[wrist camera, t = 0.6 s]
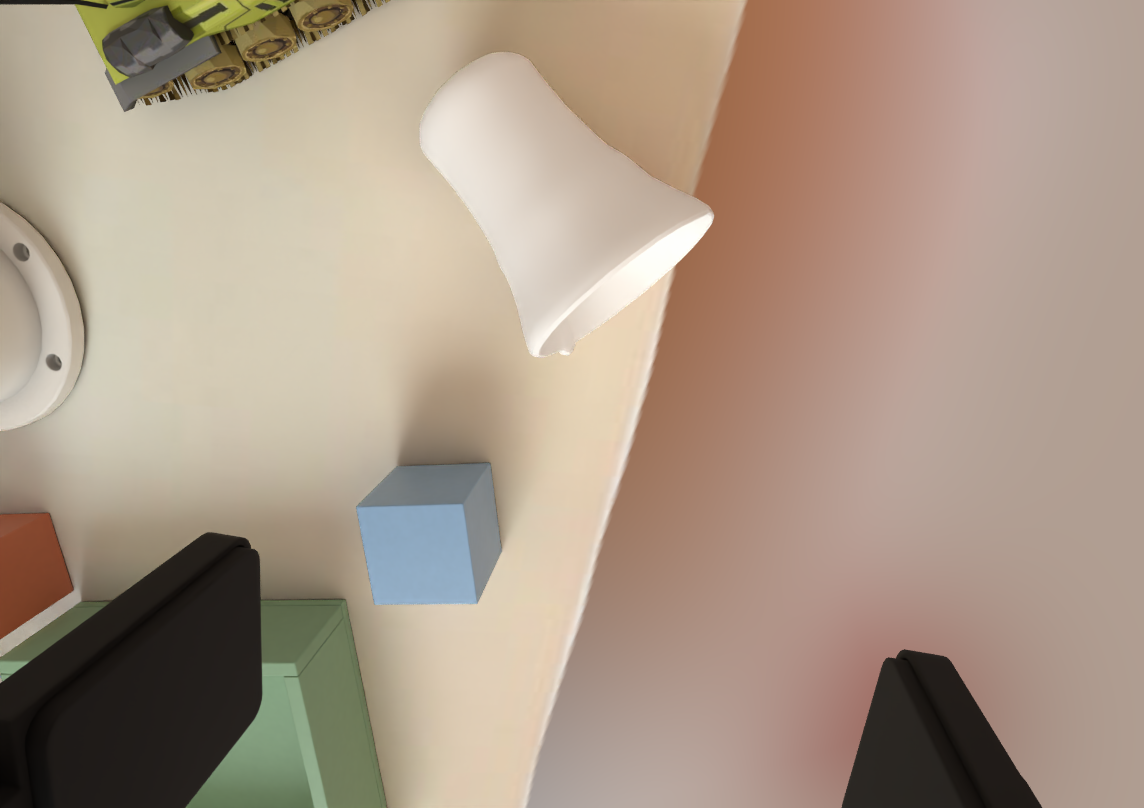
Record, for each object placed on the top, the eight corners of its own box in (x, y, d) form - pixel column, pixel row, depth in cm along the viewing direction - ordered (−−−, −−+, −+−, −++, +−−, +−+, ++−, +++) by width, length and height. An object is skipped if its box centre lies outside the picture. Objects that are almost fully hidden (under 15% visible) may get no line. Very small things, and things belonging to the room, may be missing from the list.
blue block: (396, 466, 36) (355, 506, 32) (490, 462, 36) (463, 503, 31) (410, 553, 38) (373, 605, 33) (502, 551, 37) (477, 604, 32)
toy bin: (80, 601, 42) (-6, 660, 36) (346, 598, 39) (294, 662, 34) (155, 838, 46) (88, 921, 41) (395, 849, 44) (357, 940, 39)
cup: (349, 200, 29) (497, 396, 28) (452, 0, 22) (646, 246, 22) (491, 173, 35) (614, 331, 34) (602, 12, 29) (754, 201, 28)
